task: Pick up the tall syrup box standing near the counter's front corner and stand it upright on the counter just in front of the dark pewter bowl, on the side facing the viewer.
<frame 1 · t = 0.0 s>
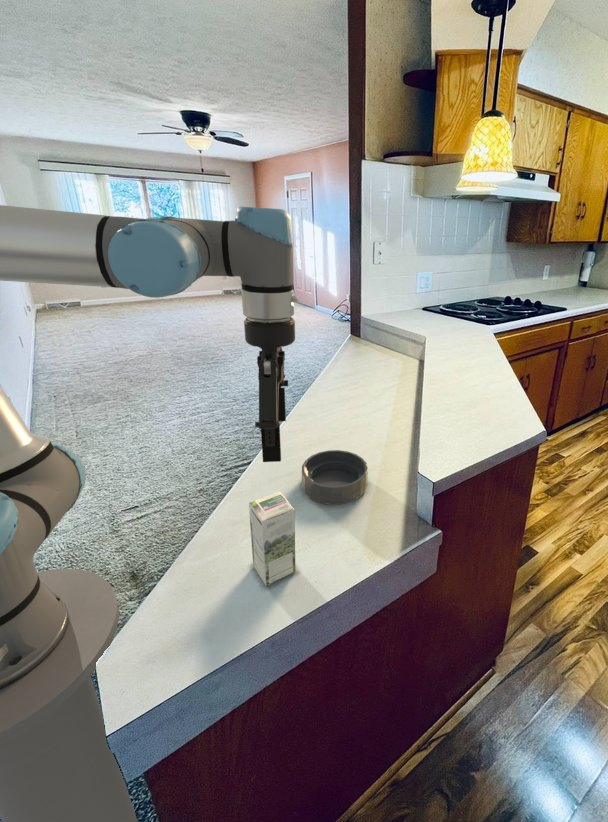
hand: (275, 438, 71), 23 cm above the counter, tool pointing down, fingers open, 13 cm apart
bowl: (334, 485, 97), on the counter
syrup box: (274, 570, 74), on the counter
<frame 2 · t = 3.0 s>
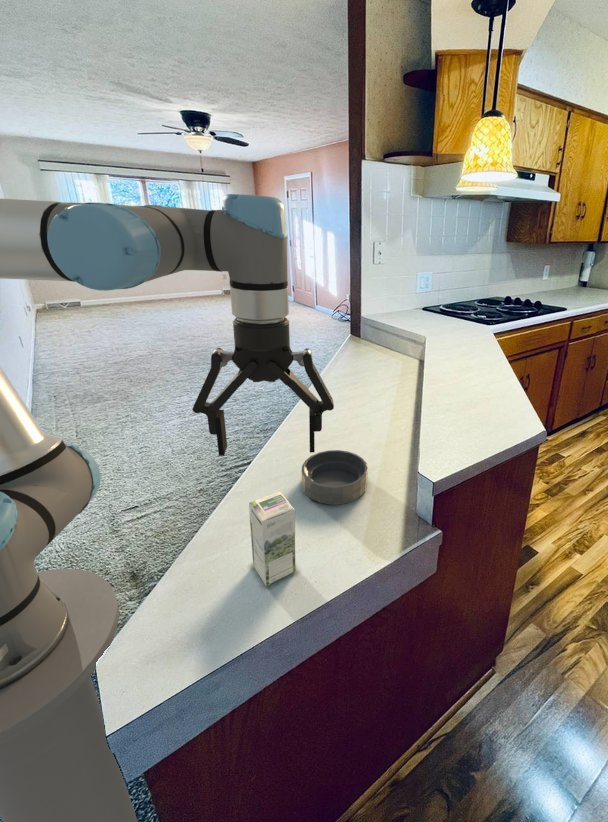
hand: (268, 449, 65), 25 cm above the counter, tool pointing down, fingers open, 13 cm apart
nothing on the counter moved.
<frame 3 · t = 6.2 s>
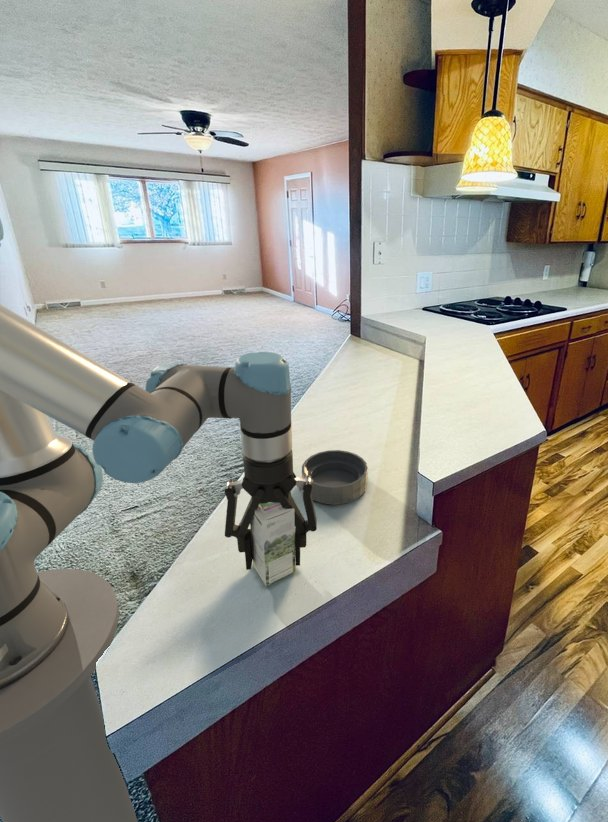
hand: (274, 561, 73), 2 cm above the counter, tool pointing down, fingers closed on syrup box, 8 cm apart
syrup box: (274, 570, 73), on the counter, touching gripper
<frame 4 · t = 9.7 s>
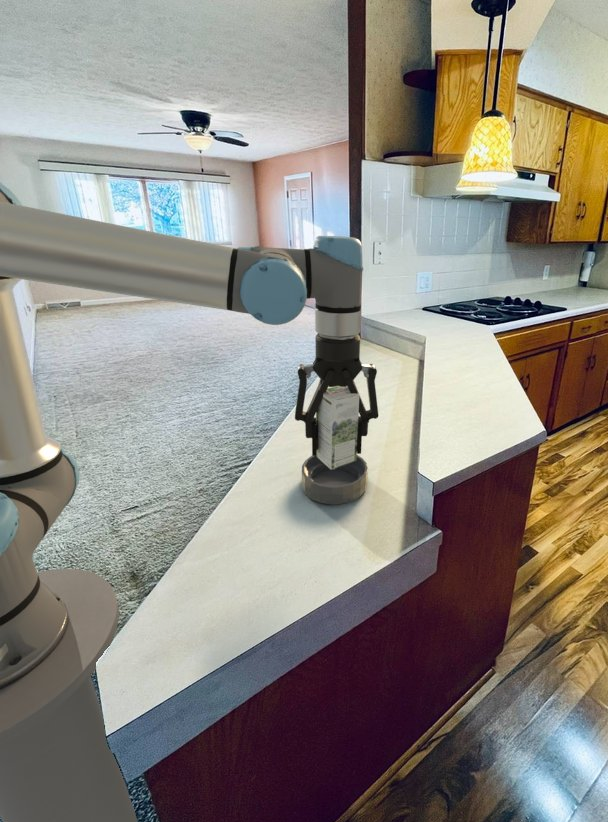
hand: (336, 450, 77), 18 cm above the counter, tool pointing down, fingers closed on syrup box, 8 cm apart
syrup box: (336, 460, 78), point 16 cm above the counter, touching gripper
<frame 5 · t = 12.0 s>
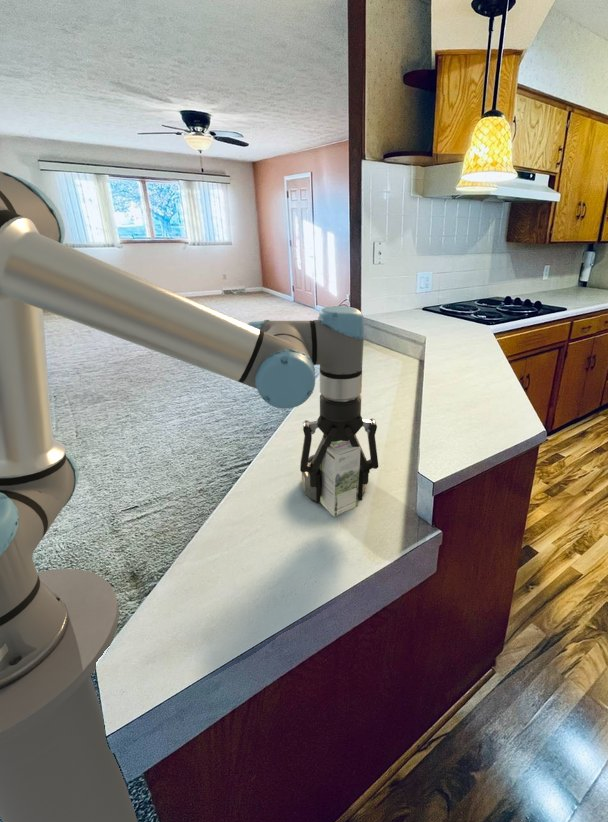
hand: (339, 497, 82), 7 cm above the counter, tool pointing down, fingers closed on syrup box, 8 cm apart
syrup box: (339, 506, 83), point 5 cm above the counter, touching gripper
when the fingers open (2 cm above the counter, at t = 13.6 s): syrup box stays where it is, on the counter.
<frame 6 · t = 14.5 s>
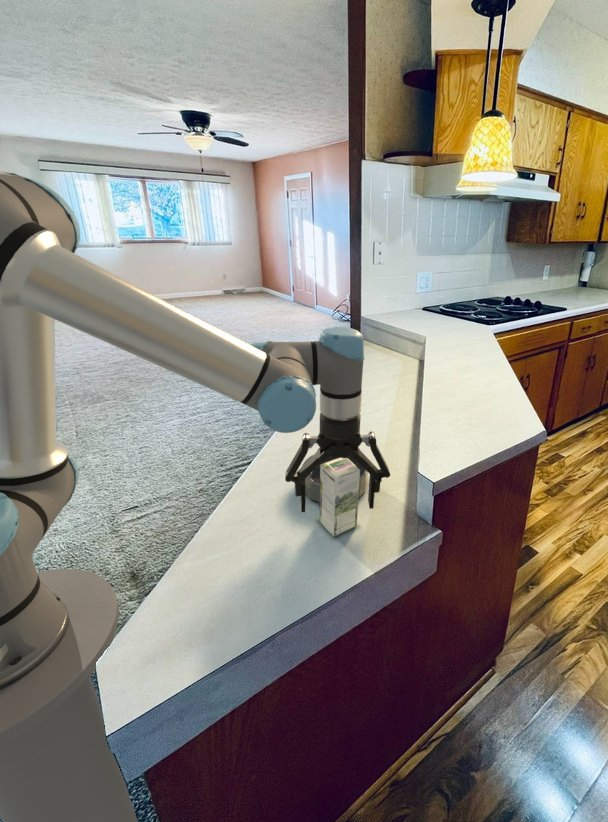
hand: (337, 506, 83), 5 cm above the counter, tool pointing down, fingers open, 13 cm apart
syrup box: (338, 525, 85), on the counter
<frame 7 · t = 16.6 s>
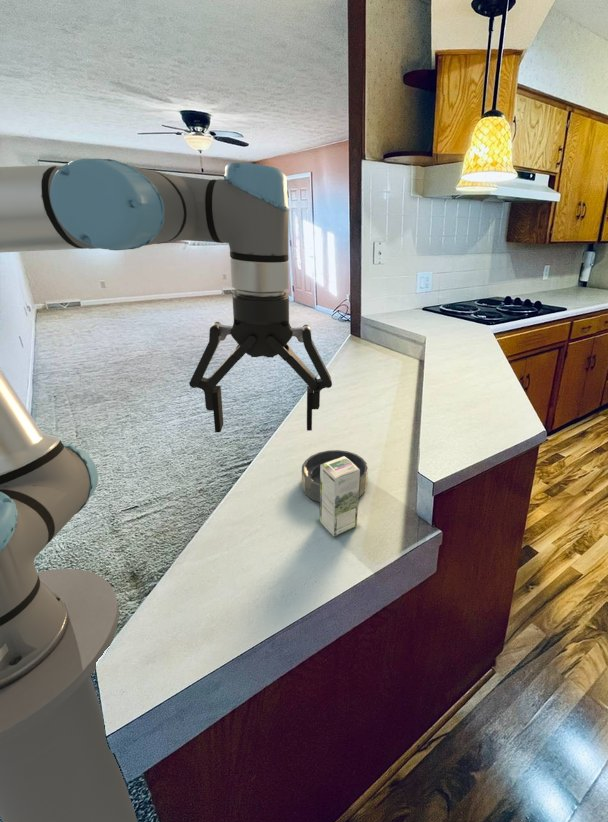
hand: (265, 427, 64), 28 cm above the counter, tool pointing down, fingers open, 13 cm apart
nothing on the counter moved.
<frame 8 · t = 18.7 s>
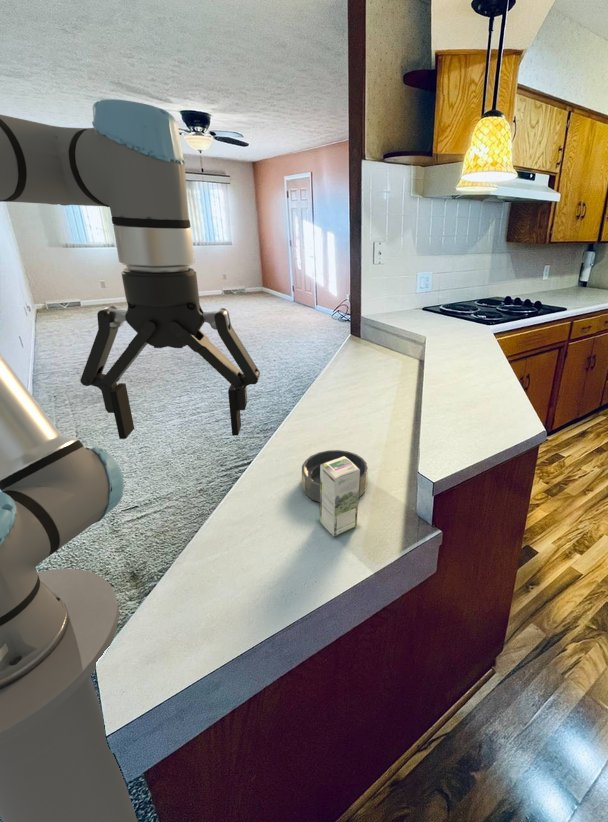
hand: (183, 432, 54), 32 cm above the counter, tool pointing down, fingers open, 13 cm apart
nothing on the counter moved.
at the end: syrup box inside the target area on the counter beside the bowl (0.5 cm from its centre), on the counter; syrup box tilted 0°; the gripper is holding nothing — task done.
